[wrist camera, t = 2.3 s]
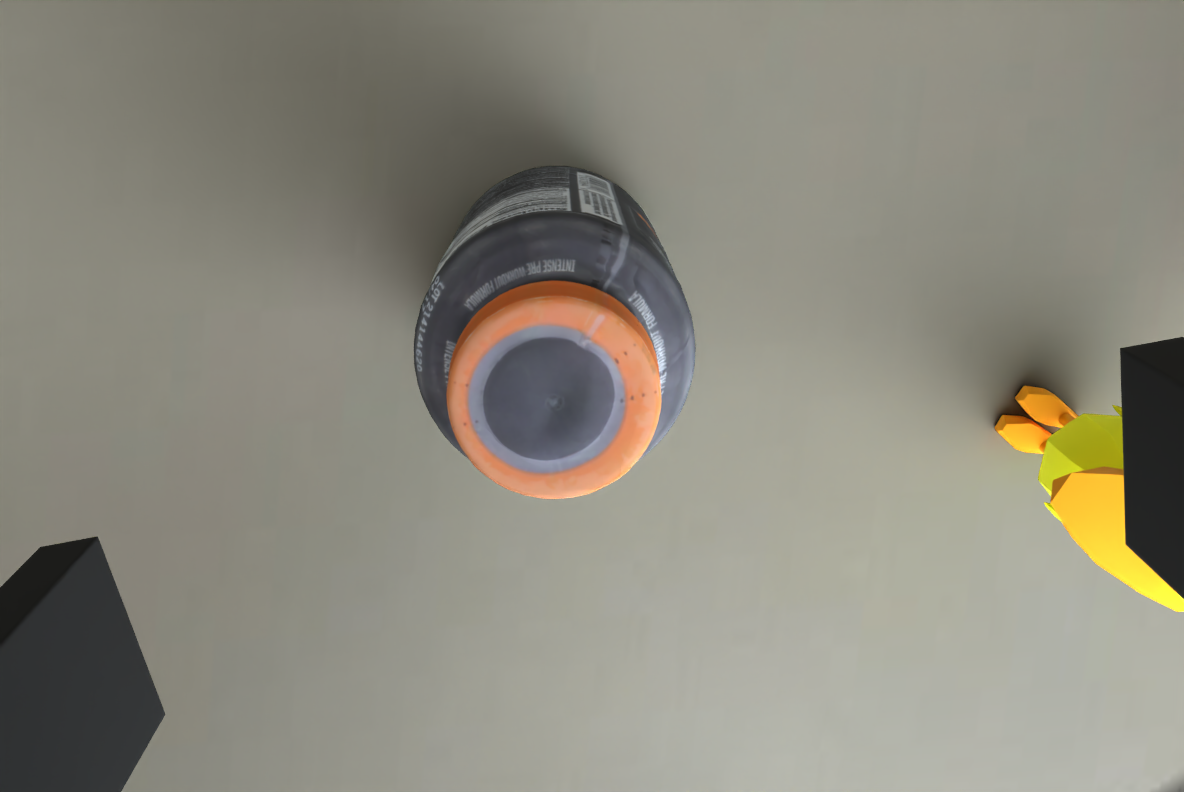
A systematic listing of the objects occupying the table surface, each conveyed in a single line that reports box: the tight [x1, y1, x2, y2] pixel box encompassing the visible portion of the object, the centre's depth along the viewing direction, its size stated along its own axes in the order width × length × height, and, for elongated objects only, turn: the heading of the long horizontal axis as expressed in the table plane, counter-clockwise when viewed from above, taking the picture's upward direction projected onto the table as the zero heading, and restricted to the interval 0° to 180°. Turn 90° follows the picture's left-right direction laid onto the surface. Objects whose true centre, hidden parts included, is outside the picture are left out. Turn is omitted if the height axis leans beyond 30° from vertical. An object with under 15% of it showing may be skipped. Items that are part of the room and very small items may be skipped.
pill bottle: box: [414, 166, 696, 499], centre depth 25 cm, size 6×6×11 cm
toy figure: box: [995, 385, 1184, 612], centre depth 27 cm, size 7×4×12 cm, turn 63°
